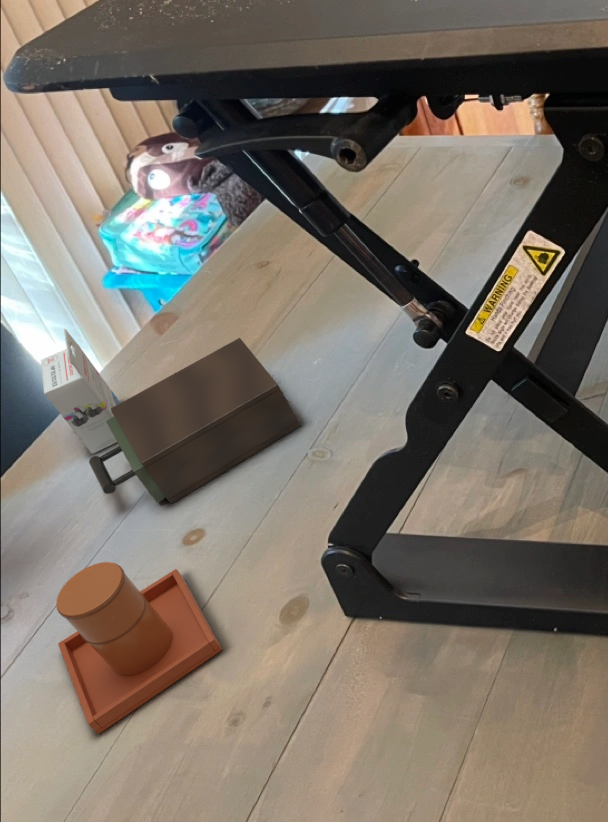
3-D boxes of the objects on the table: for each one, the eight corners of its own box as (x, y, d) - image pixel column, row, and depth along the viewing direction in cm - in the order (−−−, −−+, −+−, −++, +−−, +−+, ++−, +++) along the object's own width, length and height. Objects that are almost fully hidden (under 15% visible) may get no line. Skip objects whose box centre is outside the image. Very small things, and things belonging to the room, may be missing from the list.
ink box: (85, 420, 148) (26, 342, 139) (122, 403, 149) (65, 325, 140) (90, 455, 141) (29, 376, 132) (129, 437, 143) (70, 358, 134)
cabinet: (171, 504, 132) (141, 463, 127) (139, 448, 141) (110, 408, 136) (301, 425, 139) (277, 384, 135) (263, 377, 149) (239, 337, 144)
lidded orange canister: (120, 688, 111) (63, 628, 104) (103, 649, 115) (48, 589, 108) (181, 648, 114) (130, 586, 107) (163, 611, 118) (112, 550, 111)
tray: (98, 734, 107) (88, 724, 106) (67, 653, 116) (57, 643, 115) (222, 649, 113) (214, 639, 112) (184, 579, 122) (176, 568, 121)
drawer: (124, 522, 129) (99, 491, 126) (96, 469, 138) (73, 438, 134) (280, 428, 138) (262, 397, 135) (246, 383, 147) (228, 353, 143)
